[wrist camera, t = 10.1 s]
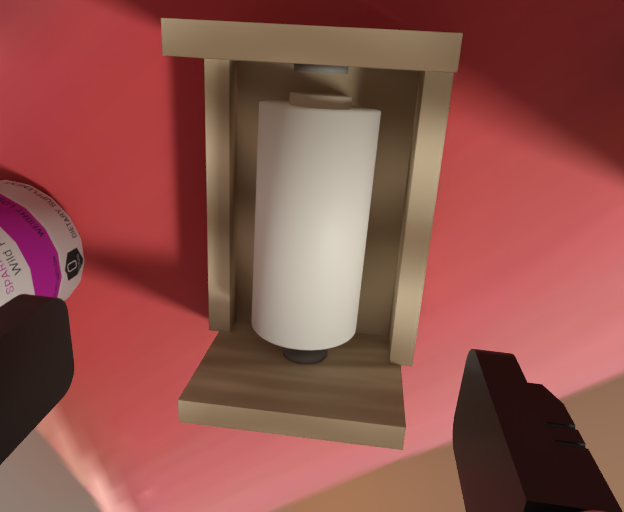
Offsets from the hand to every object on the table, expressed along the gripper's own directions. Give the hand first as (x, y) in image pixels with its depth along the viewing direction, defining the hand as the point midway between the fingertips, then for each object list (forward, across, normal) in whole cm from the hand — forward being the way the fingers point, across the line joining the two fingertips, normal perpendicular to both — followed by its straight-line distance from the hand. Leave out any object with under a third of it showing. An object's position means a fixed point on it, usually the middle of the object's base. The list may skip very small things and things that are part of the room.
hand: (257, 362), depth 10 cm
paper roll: (+18, +1, +2) cm, 18 cm away
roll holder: (+19, 0, +2) cm, 19 cm away
